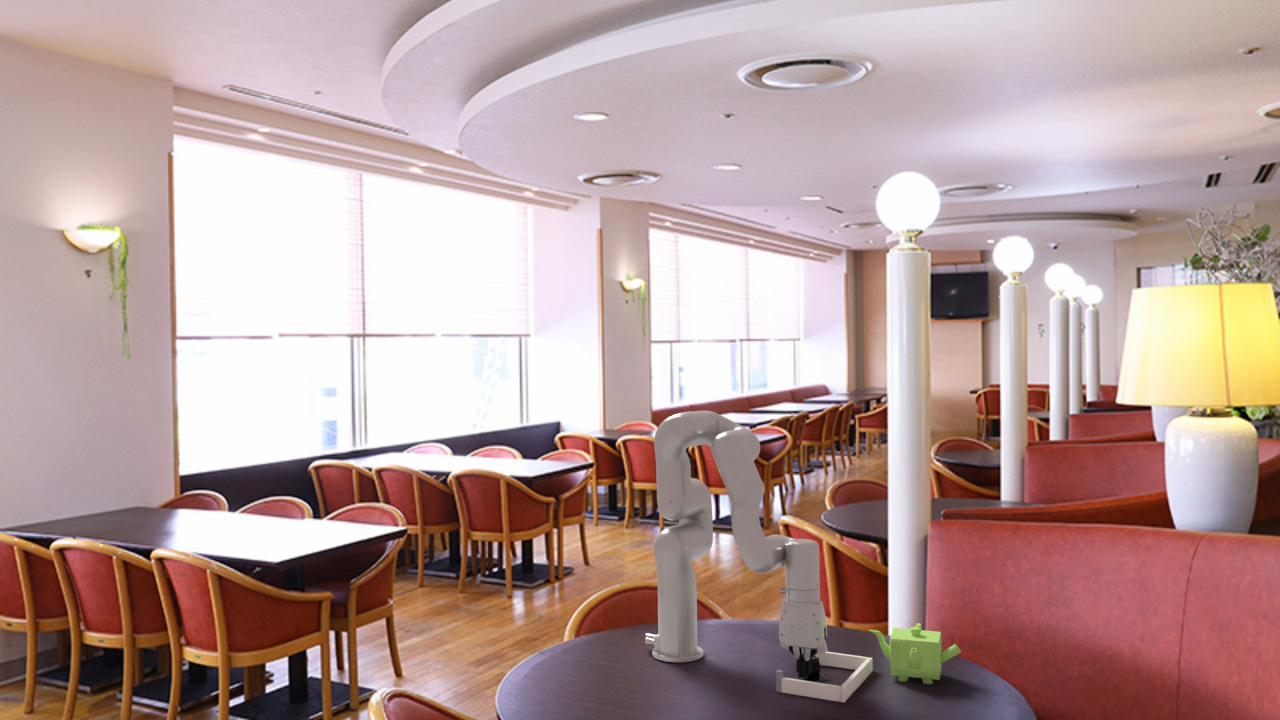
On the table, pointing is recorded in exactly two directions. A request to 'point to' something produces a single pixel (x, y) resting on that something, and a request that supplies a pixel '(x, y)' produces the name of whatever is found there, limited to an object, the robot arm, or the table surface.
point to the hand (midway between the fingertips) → (803, 675)
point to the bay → (826, 690)
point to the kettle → (915, 653)
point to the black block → (814, 671)
